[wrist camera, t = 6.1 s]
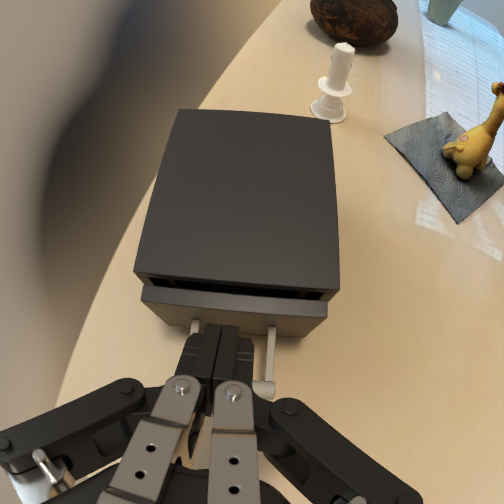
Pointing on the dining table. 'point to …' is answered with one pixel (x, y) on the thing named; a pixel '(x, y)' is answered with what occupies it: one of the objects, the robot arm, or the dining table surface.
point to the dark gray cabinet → (244, 204)
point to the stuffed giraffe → (455, 157)
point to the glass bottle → (356, 20)
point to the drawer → (238, 314)
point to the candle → (334, 85)
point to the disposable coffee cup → (442, 10)
